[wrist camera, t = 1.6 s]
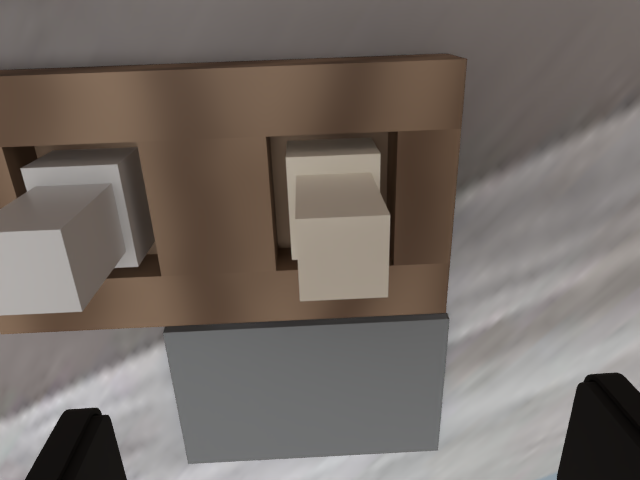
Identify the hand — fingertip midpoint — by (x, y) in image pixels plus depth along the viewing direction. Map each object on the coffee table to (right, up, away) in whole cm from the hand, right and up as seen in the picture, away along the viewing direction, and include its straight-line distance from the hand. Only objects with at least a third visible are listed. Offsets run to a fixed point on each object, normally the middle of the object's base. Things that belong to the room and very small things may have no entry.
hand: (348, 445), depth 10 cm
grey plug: (-11, +6, +14) cm, 19 cm away
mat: (-1, -5, +20) cm, 21 cm away
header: (-6, +7, +15) cm, 17 cm away
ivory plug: (0, +7, +15) cm, 16 cm away
